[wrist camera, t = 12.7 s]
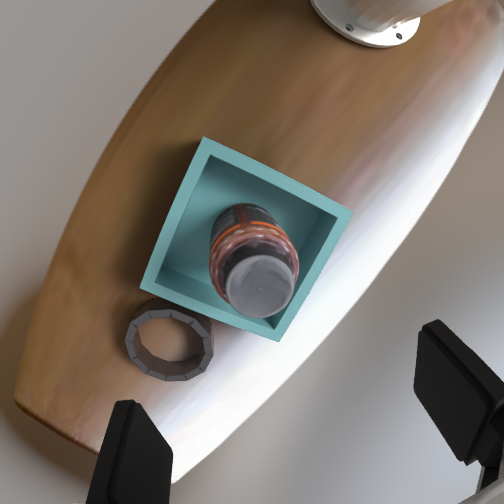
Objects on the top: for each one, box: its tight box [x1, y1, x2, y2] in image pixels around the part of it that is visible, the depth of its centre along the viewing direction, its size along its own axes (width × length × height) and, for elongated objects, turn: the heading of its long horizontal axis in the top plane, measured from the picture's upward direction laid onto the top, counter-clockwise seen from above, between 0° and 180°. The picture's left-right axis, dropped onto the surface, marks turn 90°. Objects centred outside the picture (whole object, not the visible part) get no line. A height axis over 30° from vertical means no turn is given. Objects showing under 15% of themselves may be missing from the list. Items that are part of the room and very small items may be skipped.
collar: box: [125, 298, 214, 381], centre depth 31 cm, size 9×9×2 cm
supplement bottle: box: [209, 203, 299, 318], centre depth 23 cm, size 6×6×11 cm
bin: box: [140, 137, 354, 342], centre depth 27 cm, size 13×13×5 cm
